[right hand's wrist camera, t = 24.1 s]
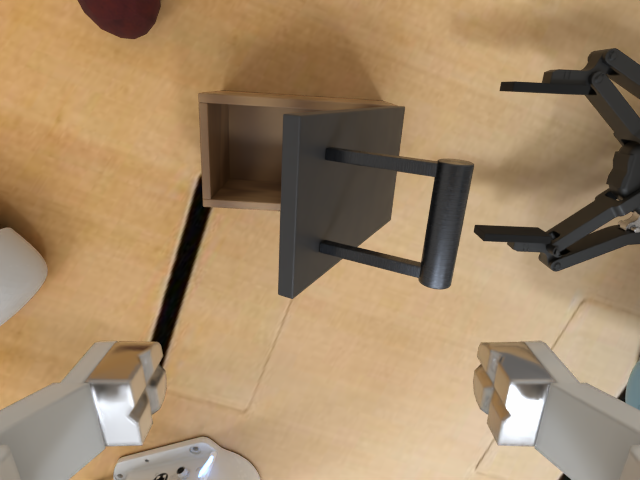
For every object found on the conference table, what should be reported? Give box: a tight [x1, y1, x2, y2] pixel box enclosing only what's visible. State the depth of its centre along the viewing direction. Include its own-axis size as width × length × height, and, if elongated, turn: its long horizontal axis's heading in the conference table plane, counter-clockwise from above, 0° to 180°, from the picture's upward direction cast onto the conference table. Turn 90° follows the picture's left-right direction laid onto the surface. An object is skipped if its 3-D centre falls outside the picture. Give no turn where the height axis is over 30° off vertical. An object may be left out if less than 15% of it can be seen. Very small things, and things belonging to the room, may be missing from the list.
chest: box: [198, 91, 397, 211], centre depth 42 cm, size 17×10×10 cm, turn 87°
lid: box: [278, 106, 474, 299], centre depth 28 cm, size 18×10×9 cm
